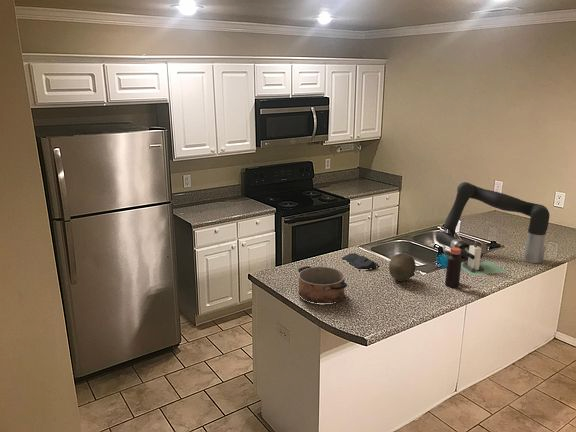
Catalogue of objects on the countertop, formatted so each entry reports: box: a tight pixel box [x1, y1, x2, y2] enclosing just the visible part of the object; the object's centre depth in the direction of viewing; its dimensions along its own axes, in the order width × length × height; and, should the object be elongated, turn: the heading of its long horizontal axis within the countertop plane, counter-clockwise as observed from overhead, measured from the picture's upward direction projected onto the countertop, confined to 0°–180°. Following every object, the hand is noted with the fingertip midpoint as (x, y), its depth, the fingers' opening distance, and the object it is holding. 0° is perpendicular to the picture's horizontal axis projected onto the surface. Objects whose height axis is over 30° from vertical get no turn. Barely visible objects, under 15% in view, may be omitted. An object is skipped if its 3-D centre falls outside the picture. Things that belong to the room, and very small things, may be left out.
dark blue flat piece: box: [341, 253, 379, 269], centre depth 264 cm, size 15×22×5 cm
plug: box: [467, 241, 482, 270], centre depth 250 cm, size 4×6×15 cm, turn 12°
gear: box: [436, 253, 449, 270], centre depth 258 cm, size 11×6×10 cm
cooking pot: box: [297, 265, 348, 303], centre depth 223 cm, size 30×22×11 cm
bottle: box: [444, 247, 463, 289], centre depth 232 cm, size 7×7×20 cm
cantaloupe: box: [388, 252, 417, 282], centre depth 239 cm, size 14×14×15 cm
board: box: [461, 261, 508, 276], centre depth 254 cm, size 22×16×1 cm
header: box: [462, 262, 484, 272], centre depth 254 cm, size 8×11×2 cm
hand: (477, 257), depth 248 cm, fingers closed on plug, 4 cm apart
